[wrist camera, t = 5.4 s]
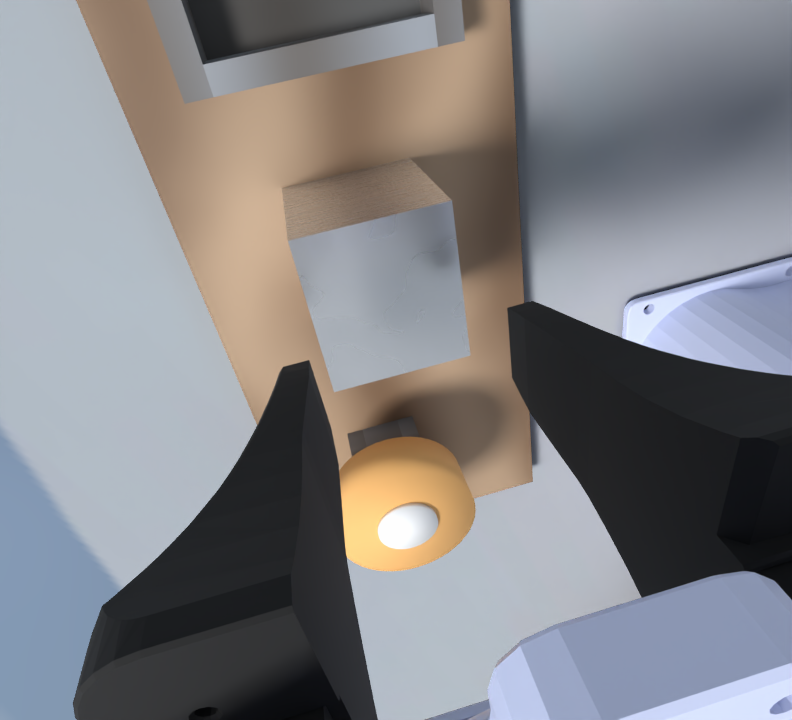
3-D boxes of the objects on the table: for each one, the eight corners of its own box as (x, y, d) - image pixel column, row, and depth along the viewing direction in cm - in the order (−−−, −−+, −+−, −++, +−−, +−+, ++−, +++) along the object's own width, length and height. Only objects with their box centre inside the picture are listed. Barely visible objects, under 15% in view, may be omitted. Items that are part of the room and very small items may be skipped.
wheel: (436, 386, 24) (469, 458, 20) (451, 475, 27) (482, 552, 23) (311, 420, 23) (320, 500, 20) (341, 507, 26) (354, 590, 23)
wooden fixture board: (471, -446, 12) (534, -581, 10) (525, 468, 29) (553, 518, 26) (-65, -361, 12) (-173, -483, 9) (307, 530, 28) (312, 589, 26)
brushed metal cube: (409, 157, 18) (452, 200, 14) (429, 288, 21) (470, 355, 17) (281, 188, 18) (287, 241, 14) (319, 316, 21) (334, 392, 17)
